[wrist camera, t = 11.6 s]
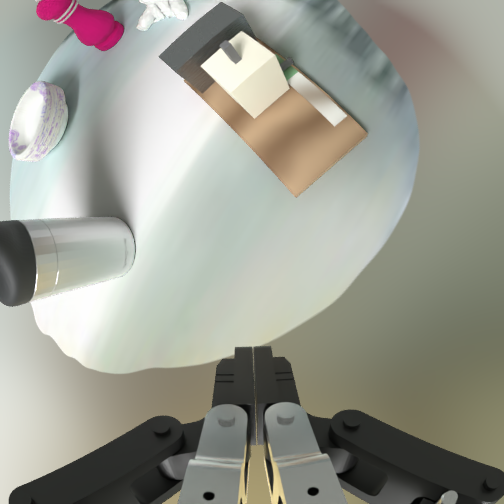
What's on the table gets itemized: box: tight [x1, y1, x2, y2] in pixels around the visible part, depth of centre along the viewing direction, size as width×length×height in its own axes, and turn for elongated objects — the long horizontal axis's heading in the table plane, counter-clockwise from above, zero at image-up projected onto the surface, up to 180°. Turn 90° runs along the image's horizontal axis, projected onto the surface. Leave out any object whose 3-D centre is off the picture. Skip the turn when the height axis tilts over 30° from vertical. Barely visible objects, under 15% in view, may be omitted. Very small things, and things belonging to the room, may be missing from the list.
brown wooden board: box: [184, 38, 368, 198], centre depth 32 cm, size 22×11×1 cm, turn 41°
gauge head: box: [201, 31, 294, 119], centre depth 26 cm, size 5×8×11 cm, turn 131°
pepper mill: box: [35, 0, 124, 51], centre depth 29 cm, size 7×7×20 cm
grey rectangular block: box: [159, 2, 259, 94], centre depth 29 cm, size 4×10×7 cm, turn 131°
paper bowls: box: [9, 81, 68, 162], centre depth 40 cm, size 15×15×8 cm
